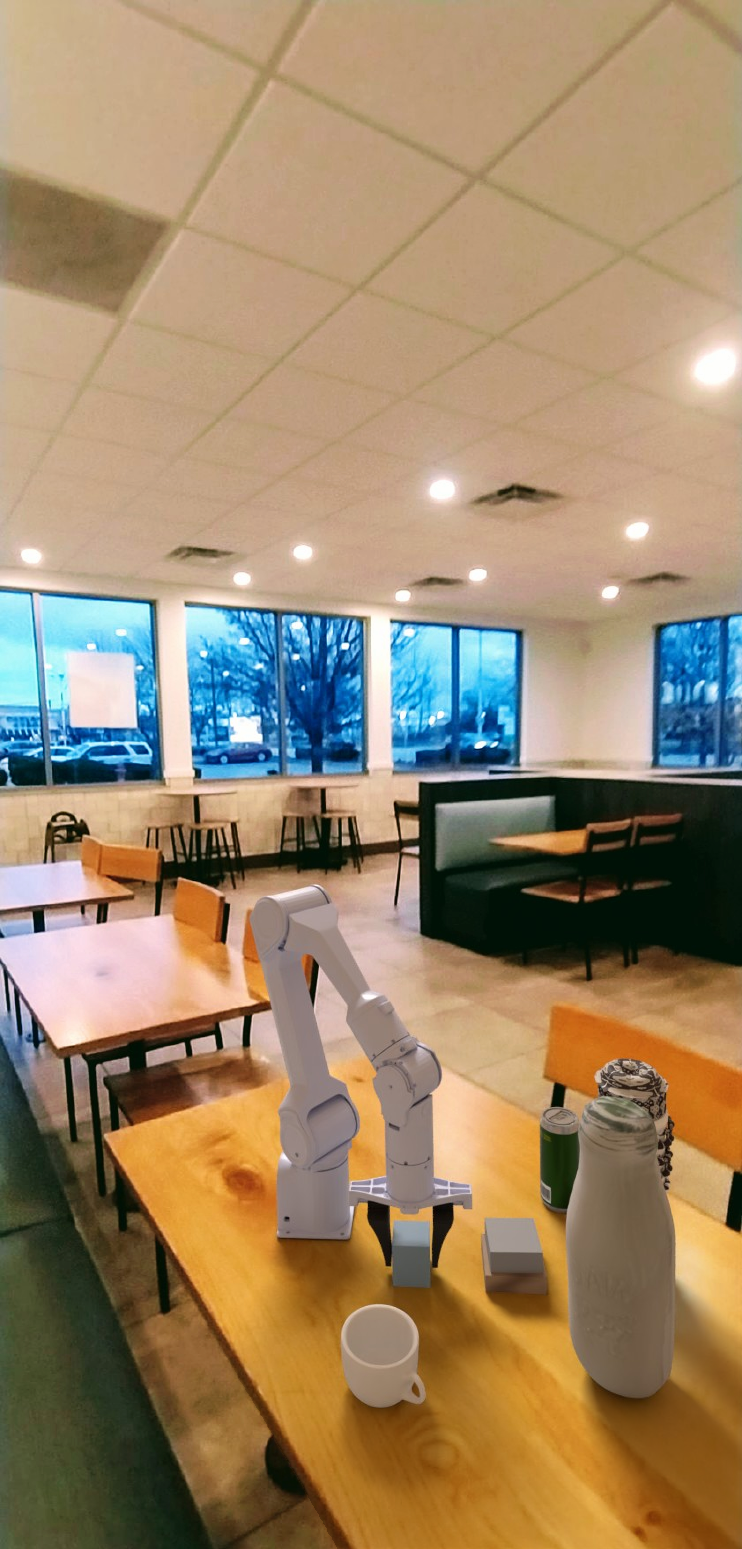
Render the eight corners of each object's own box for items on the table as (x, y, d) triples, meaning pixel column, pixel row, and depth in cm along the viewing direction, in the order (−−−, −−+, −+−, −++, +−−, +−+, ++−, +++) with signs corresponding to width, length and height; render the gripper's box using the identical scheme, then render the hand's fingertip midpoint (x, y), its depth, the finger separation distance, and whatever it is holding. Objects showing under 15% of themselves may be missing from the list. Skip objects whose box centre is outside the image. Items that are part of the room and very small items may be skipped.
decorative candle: (676, 1312, 81) (676, 1092, 79) (588, 1292, 84) (587, 1080, 82) (672, 1256, 89) (673, 1056, 88) (593, 1239, 92) (592, 1046, 91)
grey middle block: (490, 1272, 85) (490, 1252, 84) (484, 1237, 91) (484, 1217, 90) (542, 1273, 84) (542, 1252, 84) (533, 1237, 90) (533, 1217, 90)
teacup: (326, 1383, 73) (324, 1332, 73) (383, 1339, 78) (381, 1291, 78) (394, 1456, 66) (393, 1400, 65) (452, 1403, 71) (451, 1350, 70)
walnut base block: (485, 1296, 84) (485, 1275, 84) (481, 1253, 91) (481, 1233, 91) (547, 1298, 84) (547, 1277, 84) (538, 1255, 91) (538, 1235, 91)
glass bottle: (682, 1360, 75) (682, 1093, 73) (662, 1443, 66) (662, 1144, 64) (585, 1319, 80) (583, 1071, 78) (554, 1392, 71) (552, 1114, 70)
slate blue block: (392, 1286, 86) (391, 1245, 85) (394, 1259, 90) (393, 1220, 90) (430, 1287, 85) (429, 1246, 85) (430, 1260, 90) (429, 1221, 89)
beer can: (561, 1219, 96) (561, 1131, 96) (531, 1198, 101) (531, 1114, 100) (589, 1204, 99) (588, 1118, 98) (559, 1184, 104) (558, 1102, 103)
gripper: (344, 1170, 83) (347, 1284, 84) (473, 1173, 82) (475, 1288, 83) (351, 1135, 90) (353, 1241, 91) (469, 1138, 89) (471, 1244, 90)
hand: (411, 1261), depth 88 cm, fingers open, 5 cm apart
